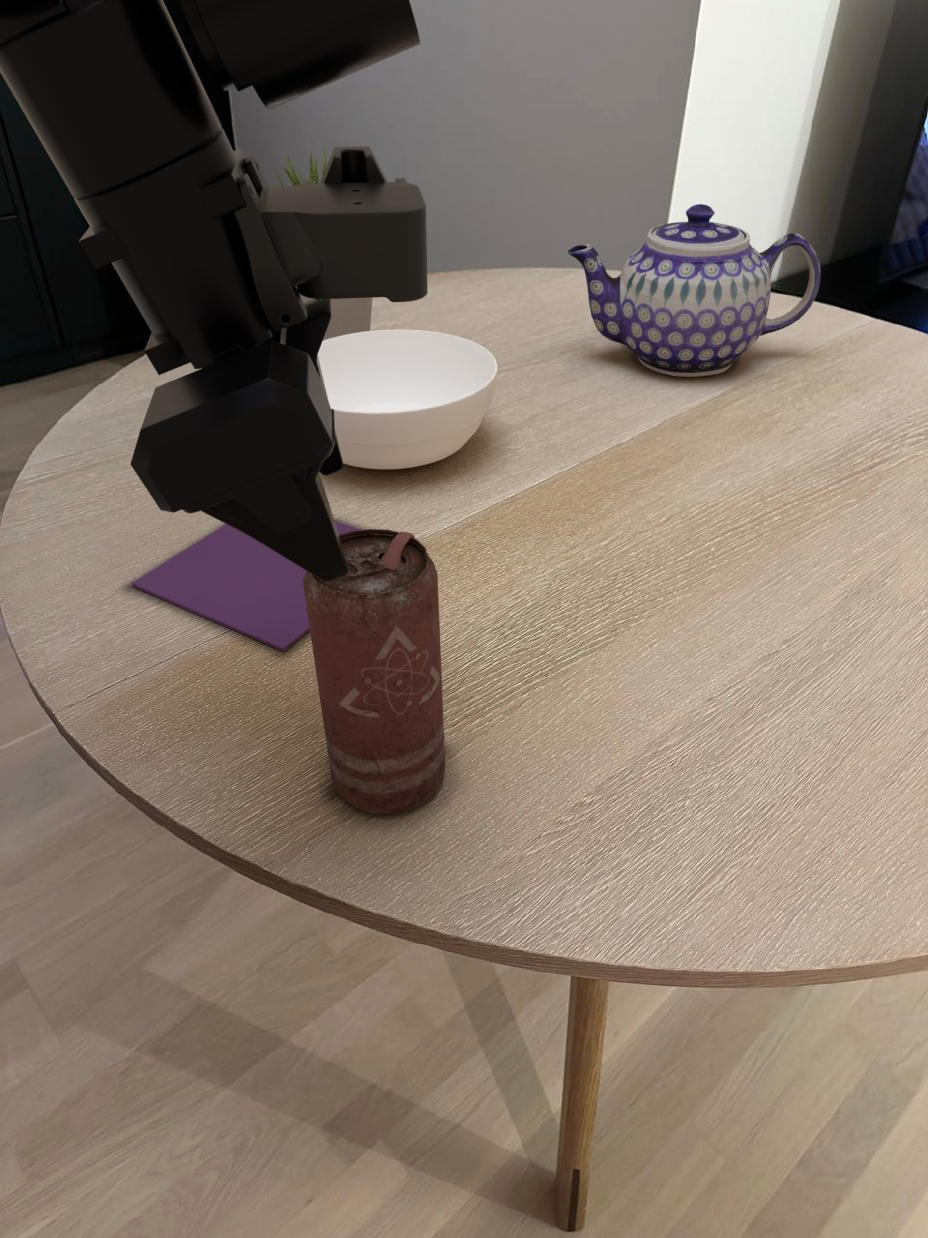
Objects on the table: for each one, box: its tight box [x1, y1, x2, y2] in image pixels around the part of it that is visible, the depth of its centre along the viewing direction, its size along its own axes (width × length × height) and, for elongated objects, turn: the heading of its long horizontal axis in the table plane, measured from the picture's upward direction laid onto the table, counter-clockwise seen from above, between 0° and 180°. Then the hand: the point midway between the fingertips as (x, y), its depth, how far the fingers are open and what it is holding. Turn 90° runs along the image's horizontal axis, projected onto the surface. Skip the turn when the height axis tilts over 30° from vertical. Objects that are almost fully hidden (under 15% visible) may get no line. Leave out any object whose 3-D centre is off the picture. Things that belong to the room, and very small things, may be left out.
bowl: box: [318, 328, 499, 470], centre depth 79 cm, size 18×18×7 cm
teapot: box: [567, 203, 821, 378], centre depth 92 cm, size 25×15×15 cm, turn 87°
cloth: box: [131, 520, 362, 653], centre depth 66 cm, size 14×14×1 cm
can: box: [303, 528, 446, 816], centre depth 46 cm, size 6×6×14 cm
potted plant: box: [273, 147, 373, 341], centre depth 91 cm, size 13×14×20 cm
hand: (335, 519), depth 42 cm, fingers open, 9 cm apart
